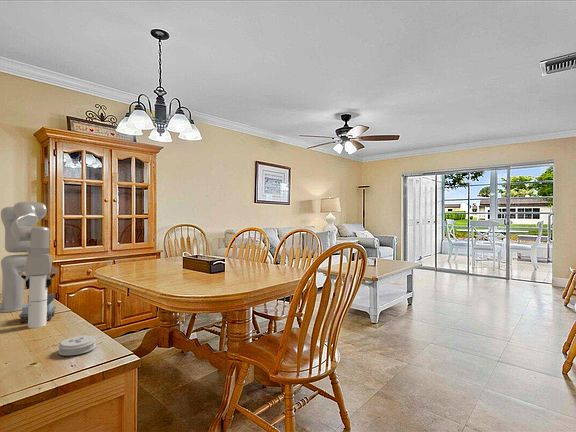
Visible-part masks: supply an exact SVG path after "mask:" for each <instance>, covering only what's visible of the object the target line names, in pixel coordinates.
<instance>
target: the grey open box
mask: <svg viewBox="0 0 576 432" xmlns="http://www.w3.org/2000/svg"><path fill="white" fill-rule="evenodd" d="M54 304H55V293H47V320H49V321H51V320H52V318H53V316H55V313H56V309H57V308H56V306H54ZM24 305H25V306H23V307H22V310H21V313H20V314H19V315H18V317H19V318H20V324H22V323H25V320H26V319H28V308H29V294H27V303H25V304H24Z"/></svg>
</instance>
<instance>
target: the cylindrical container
mask: <svg viewBox="0 0 576 432" xmlns="http://www.w3.org/2000/svg"><path fill="white" fill-rule="evenodd" d="M47 280H48V278H47V276H46V275H34V276H30V279H29V289H28V295H29V308H28V318H27V328H29V329H38V328H42V327H45V326H47V319H48V315H47V294H48V288H47Z"/></svg>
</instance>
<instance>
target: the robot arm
mask: <svg viewBox="0 0 576 432" xmlns="http://www.w3.org/2000/svg"><path fill="white" fill-rule="evenodd" d="M47 211H48V208H47V206H46V205H45V203H44V202H38V201H37V202H36V201H34V202H33V201H19V202H16V203H15V204H14V206H5V207H3V208H2V209H1V211H0V217H1V218H0V219H1V221H2V224H3V226H4V227H3V228H4V249H5V252H8V253H10V255H6V256H4V257H2V258H1V261H0V267H1V272H2V273H1V276H2V286H1V287H2V288H1V302H0V313H10V312H11V313H13V312H19V311H22V307H23V306H25V305H26V304H24V293H25V292H24V291H25V288H26V290H29V279H30V276H34V275H46V276H47V278H48V280H47V289H48V288H50V286H52V279H53V278H54V277H55V276H56V275H57V274H58V273H60V272H59V271H60V270H59V269H58V268H56V267H54V266H53V264H52V263H53V262H52V260H53V259H52V255H51V254H50V235H51V234H50V233H51V232H50V230H51V229H50V228H49V227H46V226H35V225H36V224H37V223H38V222H39V221H41V220H42V219H44V218H45V216H46V215H47V213H48V212H47ZM11 253H14V254H12V255H11ZM15 253H27V254H15ZM53 271H54V272H53ZM52 272H53V273H52ZM51 273H52V274H51Z"/></svg>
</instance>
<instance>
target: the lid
mask: <svg viewBox="0 0 576 432" xmlns="http://www.w3.org/2000/svg"><path fill="white" fill-rule="evenodd" d="M96 342H97V339H96V337H94V336H93V335H78V336H73V337H69V338H67V339H64V340H62V341H61V342H60V343H59V344H58V345H57V347H58V352H57V354H58V355H60V356H77V355H82V354H84V353H89V352H91V351H92V350H94V349H95V348H96V347H97V344H96Z"/></svg>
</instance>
